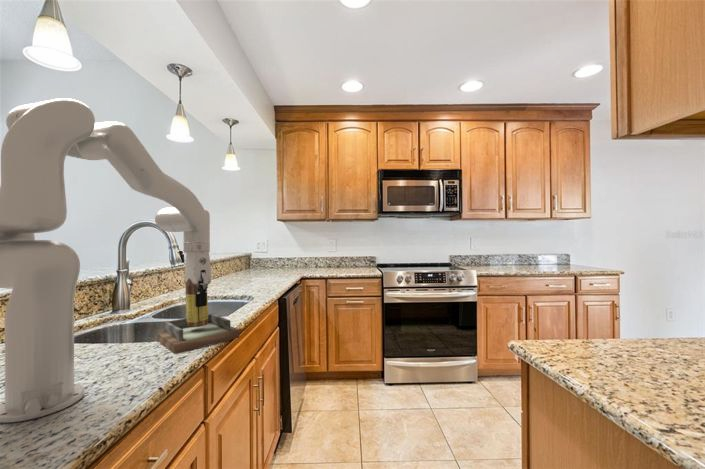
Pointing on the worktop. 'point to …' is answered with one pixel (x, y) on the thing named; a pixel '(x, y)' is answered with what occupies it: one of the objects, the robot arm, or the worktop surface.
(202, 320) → the sauce bottle
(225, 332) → the dock
